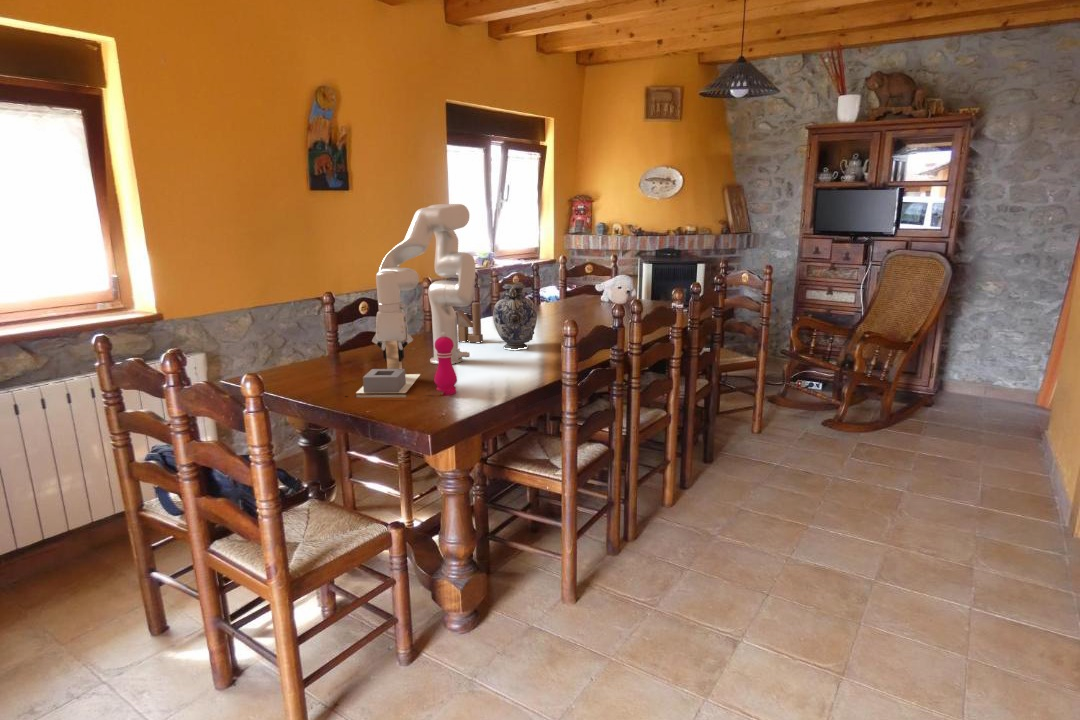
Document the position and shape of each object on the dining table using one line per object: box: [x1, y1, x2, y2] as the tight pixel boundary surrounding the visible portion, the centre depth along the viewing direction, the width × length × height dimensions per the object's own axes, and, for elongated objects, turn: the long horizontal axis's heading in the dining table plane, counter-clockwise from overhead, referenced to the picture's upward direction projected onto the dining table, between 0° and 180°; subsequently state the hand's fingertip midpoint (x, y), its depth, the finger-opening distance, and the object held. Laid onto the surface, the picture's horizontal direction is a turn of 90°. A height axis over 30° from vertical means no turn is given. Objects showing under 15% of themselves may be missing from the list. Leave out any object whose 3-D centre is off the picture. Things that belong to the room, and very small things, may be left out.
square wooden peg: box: [385, 341, 403, 369], centre depth 220 cm, size 4×4×12 cm
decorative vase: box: [492, 281, 538, 349], centre depth 274 cm, size 21×19×28 cm
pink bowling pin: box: [433, 332, 458, 396], centre depth 207 cm, size 7×7×20 cm
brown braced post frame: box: [456, 302, 484, 342], centre depth 288 cm, size 4×11×18 cm, turn 69°
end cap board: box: [355, 368, 421, 399], centre depth 215 cm, size 16×24×6 cm, turn 179°
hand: (394, 360), depth 221 cm, fingers closed on square wooden peg, 4 cm apart
